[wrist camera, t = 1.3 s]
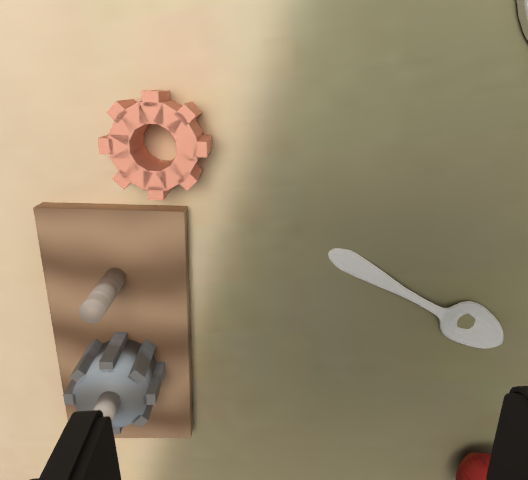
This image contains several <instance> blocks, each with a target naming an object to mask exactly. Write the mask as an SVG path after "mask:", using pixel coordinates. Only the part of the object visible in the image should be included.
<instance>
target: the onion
mask: <svg viewBox="0 0 528 480" xmlns="http://www.w3.org/2000/svg"><path fill="white" fill-rule="evenodd" d="M490 457H491V454H488V453H475V452H470V453H468V454H467V455H466V457H465V458H464V459H463V460H462V461H461V463H460V465H459V467H458V470H457V473H456V480H486V475H487V471H488V466H489V462H490Z"/></svg>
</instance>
